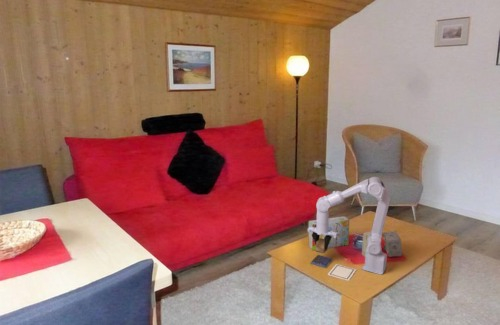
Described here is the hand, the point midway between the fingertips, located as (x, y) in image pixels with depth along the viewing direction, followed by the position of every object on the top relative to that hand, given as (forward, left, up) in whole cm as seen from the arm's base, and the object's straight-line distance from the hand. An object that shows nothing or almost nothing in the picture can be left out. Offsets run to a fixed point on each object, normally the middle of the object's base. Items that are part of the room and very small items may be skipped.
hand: (321, 247), depth 181 cm
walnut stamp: (0, 0, -1) cm, 1 cm away
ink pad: (0, 0, -8) cm, 8 cm away
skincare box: (-18, -19, -8) cm, 27 cm away
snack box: (+4, -18, -8) cm, 20 cm away
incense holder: (-27, -27, -8) cm, 39 cm away
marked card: (-12, +4, -8) cm, 15 cm away
